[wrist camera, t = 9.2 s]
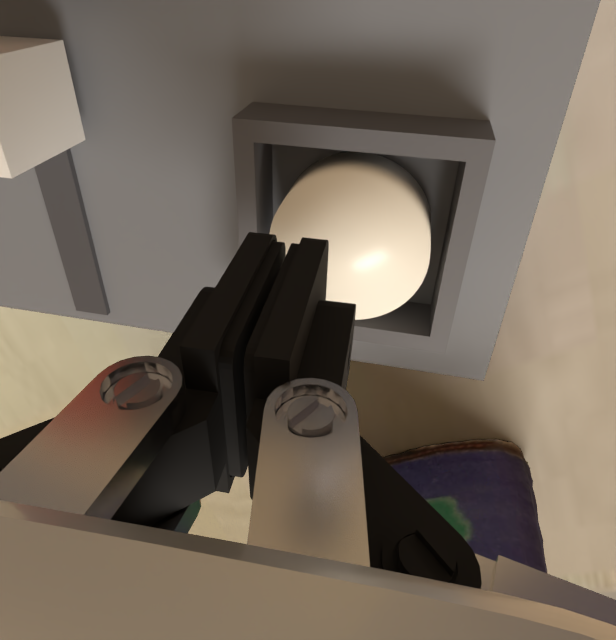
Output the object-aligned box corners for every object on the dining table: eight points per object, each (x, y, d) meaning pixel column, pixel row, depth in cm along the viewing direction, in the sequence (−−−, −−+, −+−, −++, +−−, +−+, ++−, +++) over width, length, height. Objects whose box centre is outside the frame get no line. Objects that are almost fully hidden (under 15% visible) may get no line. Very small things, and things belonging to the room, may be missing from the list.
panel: (22, 277, 21) (-45, 329, 18) (-222, -418, 11) (-462, -552, 8) (479, 343, 18) (487, 417, 15) (721, -507, 8) (876, -764, 5)
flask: (342, 507, 25) (292, 790, 17) (312, 469, 24) (242, 753, 15) (537, 473, 21) (603, 824, 13) (513, 425, 20) (570, 777, 11)
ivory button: (284, 279, 15) (270, 308, 14) (284, 144, 13) (267, 165, 12) (418, 297, 15) (416, 329, 13) (444, 159, 12) (444, 182, 11)
